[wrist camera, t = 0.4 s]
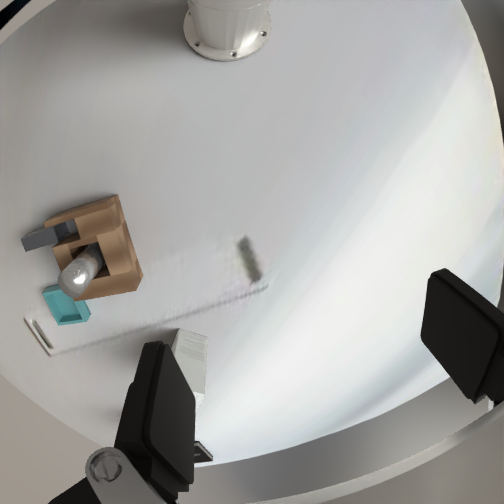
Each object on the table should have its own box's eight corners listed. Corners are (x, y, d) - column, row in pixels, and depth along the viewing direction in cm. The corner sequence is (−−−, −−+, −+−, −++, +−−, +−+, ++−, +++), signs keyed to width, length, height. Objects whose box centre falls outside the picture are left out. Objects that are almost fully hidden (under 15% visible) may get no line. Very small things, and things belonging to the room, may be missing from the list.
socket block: (57, 213, 41) (43, 222, 36) (117, 194, 41) (106, 201, 37) (85, 287, 46) (74, 301, 42) (143, 275, 47) (136, 290, 42)
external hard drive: (192, 458, 71) (192, 463, 69) (175, 441, 67) (175, 447, 65) (213, 455, 71) (213, 460, 69) (198, 439, 67) (198, 444, 65)
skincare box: (195, 365, 55) (192, 424, 41) (166, 356, 54) (156, 415, 40) (209, 335, 52) (207, 396, 39) (177, 325, 51) (167, 385, 37)
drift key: (32, 231, 41) (20, 238, 37) (64, 219, 41) (53, 227, 38) (36, 243, 42) (25, 251, 38) (69, 233, 42) (58, 241, 39)
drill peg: (87, 241, 43) (53, 273, 32) (106, 236, 43) (76, 268, 32) (94, 263, 45) (65, 299, 34) (114, 258, 45) (87, 295, 34)
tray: (48, 286, 45) (42, 293, 43) (75, 280, 46) (70, 287, 43) (63, 318, 48) (58, 325, 46) (90, 314, 48) (86, 321, 46)
